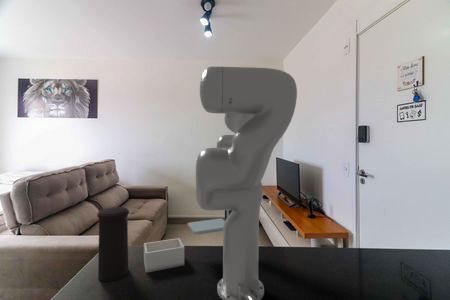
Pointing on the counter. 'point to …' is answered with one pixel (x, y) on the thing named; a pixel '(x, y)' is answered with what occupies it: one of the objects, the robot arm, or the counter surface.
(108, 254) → the container
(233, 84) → the robot arm
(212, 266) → the counter surface
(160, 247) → the tub
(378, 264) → the counter surface
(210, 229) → the lid
